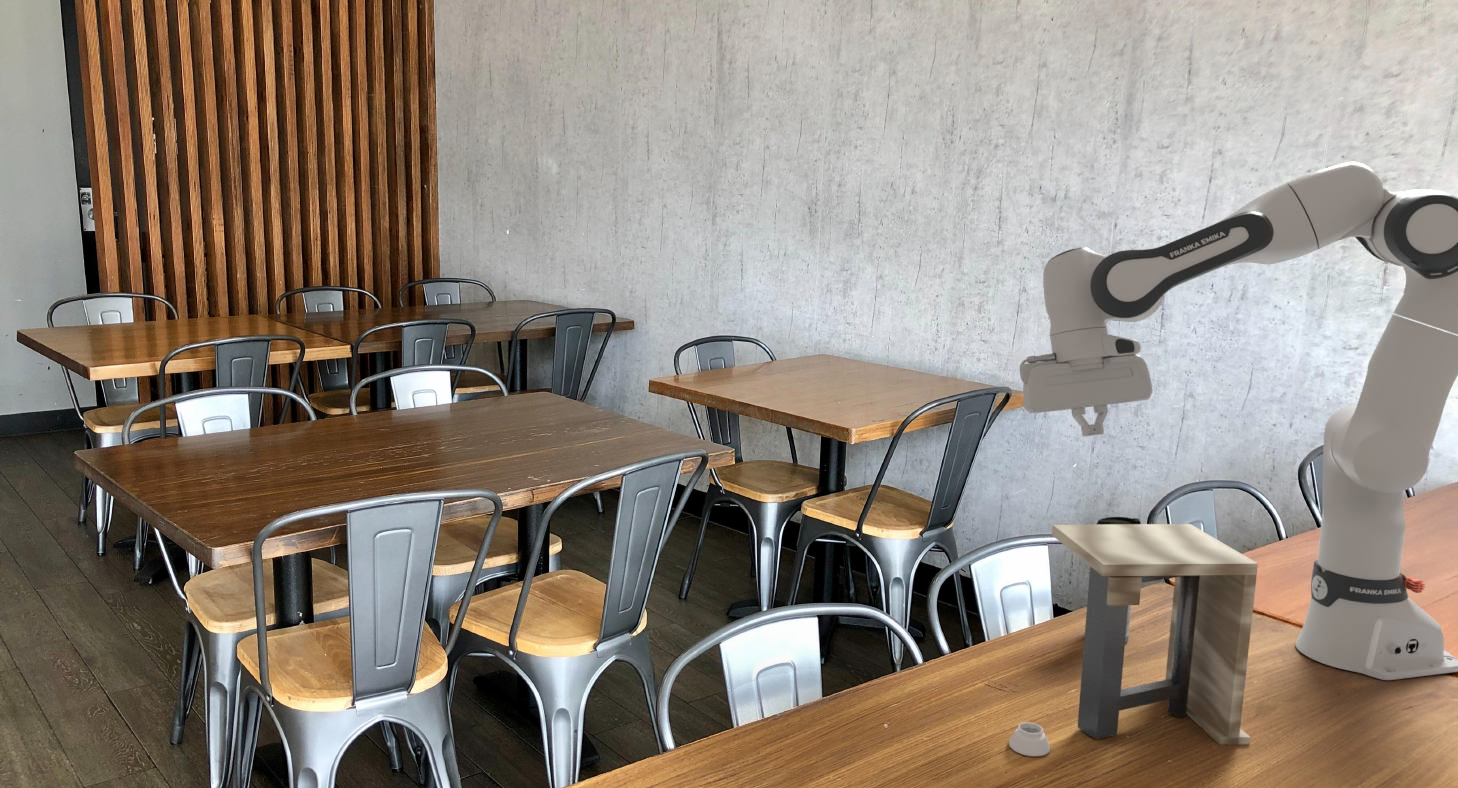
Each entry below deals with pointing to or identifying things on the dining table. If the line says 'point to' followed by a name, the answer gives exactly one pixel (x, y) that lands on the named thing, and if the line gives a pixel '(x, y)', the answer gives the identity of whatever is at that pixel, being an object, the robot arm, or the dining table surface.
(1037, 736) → the white jar
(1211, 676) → the side table
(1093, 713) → the frame
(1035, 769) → the dining table surface
